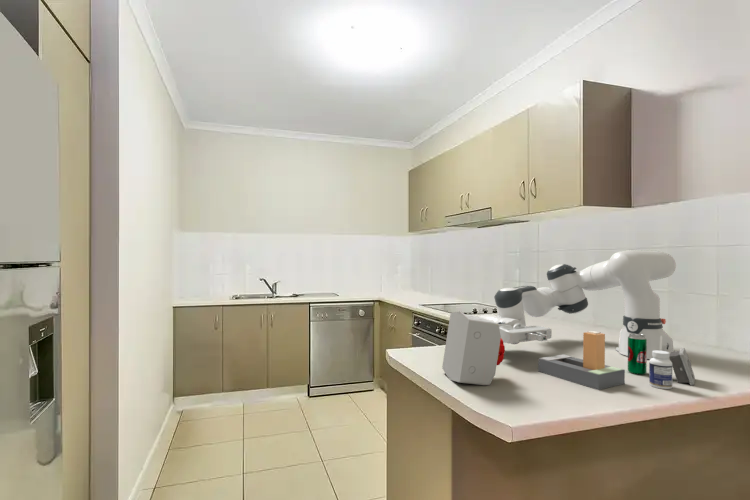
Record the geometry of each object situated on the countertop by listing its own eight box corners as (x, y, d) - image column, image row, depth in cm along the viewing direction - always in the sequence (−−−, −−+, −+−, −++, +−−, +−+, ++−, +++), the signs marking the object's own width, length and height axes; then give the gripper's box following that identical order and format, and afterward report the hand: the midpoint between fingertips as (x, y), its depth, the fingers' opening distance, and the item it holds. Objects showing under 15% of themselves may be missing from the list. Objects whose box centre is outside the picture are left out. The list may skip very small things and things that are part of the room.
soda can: (639, 376, 128) (640, 336, 128) (623, 371, 132) (624, 333, 132) (650, 374, 130) (650, 335, 130) (634, 370, 135) (634, 332, 135)
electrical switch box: (508, 393, 117) (519, 322, 118) (458, 387, 115) (469, 314, 115) (486, 377, 131) (495, 314, 132) (441, 372, 129) (451, 308, 130)
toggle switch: (563, 366, 137) (563, 354, 137) (624, 383, 120) (624, 369, 120) (538, 371, 131) (538, 358, 131) (598, 389, 114) (598, 374, 114)
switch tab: (591, 374, 124) (592, 330, 124) (604, 378, 121) (604, 332, 121) (583, 376, 122) (583, 331, 122) (595, 380, 119) (596, 333, 119)
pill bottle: (650, 382, 121) (650, 348, 122) (673, 386, 118) (673, 351, 118) (648, 386, 117) (648, 351, 117) (671, 390, 114) (671, 355, 114)
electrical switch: (694, 386, 118) (690, 353, 119) (672, 384, 121) (668, 352, 122) (695, 379, 125) (691, 347, 126) (674, 377, 129) (670, 347, 129)
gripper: (532, 337, 154) (565, 345, 142) (490, 342, 144) (522, 350, 132) (532, 320, 154) (565, 326, 142) (491, 324, 144) (522, 330, 132)
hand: (544, 338), depth 137 cm, fingers closed
